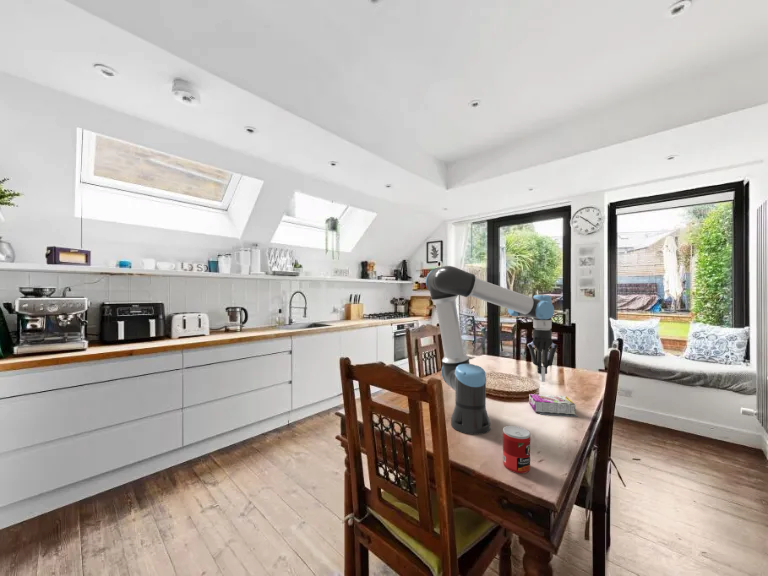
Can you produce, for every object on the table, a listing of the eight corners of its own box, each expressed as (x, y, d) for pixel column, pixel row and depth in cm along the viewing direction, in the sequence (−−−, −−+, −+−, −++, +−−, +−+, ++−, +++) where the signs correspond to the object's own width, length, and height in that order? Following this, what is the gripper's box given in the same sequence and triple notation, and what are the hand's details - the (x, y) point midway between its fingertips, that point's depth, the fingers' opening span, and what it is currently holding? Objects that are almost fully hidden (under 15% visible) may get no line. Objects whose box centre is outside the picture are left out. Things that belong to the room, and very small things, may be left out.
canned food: (521, 477, 93) (521, 439, 93) (497, 464, 100) (497, 429, 100) (535, 468, 98) (535, 432, 98) (511, 457, 104) (511, 423, 104)
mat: (540, 414, 140) (540, 413, 140) (530, 403, 154) (530, 402, 154) (577, 416, 138) (577, 415, 138) (563, 405, 152) (563, 404, 152)
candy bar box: (528, 393, 152) (566, 395, 149) (528, 403, 152) (566, 406, 149) (535, 400, 141) (576, 404, 138) (535, 412, 141) (575, 415, 138)
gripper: (529, 329, 143) (529, 382, 143) (560, 330, 142) (560, 383, 142) (524, 327, 151) (524, 378, 151) (554, 328, 149) (554, 379, 149)
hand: (542, 380), depth 146 cm, fingers closed
